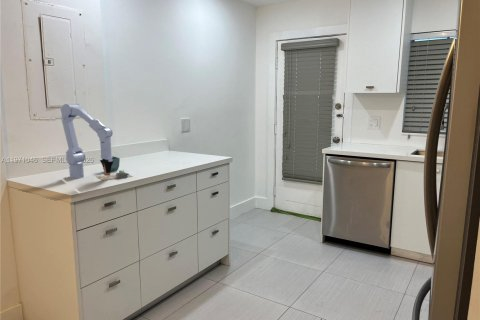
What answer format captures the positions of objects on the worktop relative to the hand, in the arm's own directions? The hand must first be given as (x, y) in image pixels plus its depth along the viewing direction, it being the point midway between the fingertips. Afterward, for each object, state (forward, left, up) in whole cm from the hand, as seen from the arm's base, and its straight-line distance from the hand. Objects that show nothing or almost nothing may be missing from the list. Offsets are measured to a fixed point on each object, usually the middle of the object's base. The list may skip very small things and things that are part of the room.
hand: (107, 172), depth 209 cm
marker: (0, 0, -2) cm, 2 cm away
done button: (0, +9, -3) cm, 9 cm away
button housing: (0, +9, -4) cm, 10 cm away
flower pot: (-25, +11, -5) cm, 28 cm away
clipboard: (-5, +6, -5) cm, 9 cm away
